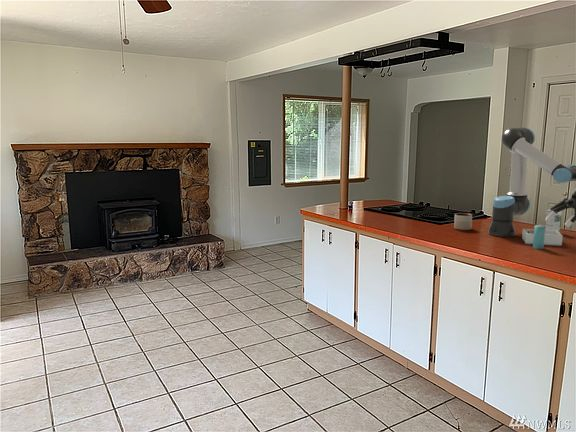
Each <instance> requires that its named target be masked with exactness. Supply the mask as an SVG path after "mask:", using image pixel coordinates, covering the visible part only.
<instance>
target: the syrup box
mask: <svg viewBox="0 0 576 432" xmlns="http://www.w3.org/2000/svg"><path fill="white" fill-rule="evenodd" d="M550 213H551V210H550V209H547V210H546V218H547V216H548V215H549V214H550ZM562 213H563V210H562V211H560V212H558V213H556V215H555V216H554V217H553V219H552V220H551V221H550V222H549V223H547V222H546V221H545V230H557V231H558V232H559V233H560V234H561V227H562V215H563V214H562ZM546 218H545V219H546Z"/></svg>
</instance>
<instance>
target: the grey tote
mask: <svg viewBox="0 0 576 432" xmlns="http://www.w3.org/2000/svg"><path fill="white" fill-rule="evenodd" d="M528 231H534V229H533V228H522V235H521V239H522V241H523V242H524V243H525V244H526V245H527V244H528V245H533V239H534V234H528ZM563 237H564V236H563V234H561V232H560V233H559V232H558V231H557V230H546V229H545V236H544V246H557V247H558V246H559V247H560V246H561V247H562V246H563Z"/></svg>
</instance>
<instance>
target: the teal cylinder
mask: <svg viewBox="0 0 576 432" xmlns="http://www.w3.org/2000/svg"><path fill="white" fill-rule="evenodd" d="M545 230H546V225H542V224H541V225H540V224H539V225H537V224H536V225H534V239H533V244H532V249H537V250H543V249H544V247H545V245H544V236H545Z"/></svg>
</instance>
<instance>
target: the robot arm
mask: <svg viewBox="0 0 576 432" xmlns="http://www.w3.org/2000/svg"><path fill="white" fill-rule="evenodd" d="M535 140H536V135H535V132H534V131H533V130H532V129H531V128H527V127H510V128H508V129H506V130H504V132H503V133H502V135H501V143H502V144H503V146H504V147H505V148H507V149H508V150H509V152H510V153H511V160H510V177H509V191H508V192H507V193H506V195H500V196H496V197H494V198H493V202H492V215H491V223H490V225H489V228H488V230H487V234H488V235H490V236H494V237H501V238H503V237H504V238H511V237H515V236H516V228H515V226H514V217H515V216H521V215H524V214H526V213H527V212H528V211H529V210H530V208H531V201H530V199H529V198H528V193H527V192H526V179H527V166H528V165H527V163H528V160H529V161H530V163H533V164H534V165H535V166H537V167H539V168H540V169H542V170H543V171H545V172H546V173H548V174H549V175H550V176H552V178H553V179H554V181H555V182H557V183H561V184H562V183H569V182H570V183H571V182H576V165H574V164H571V163H570V164H568V165H566V166H565V165H564V164H562V163H561V162H559V161H558V160H556V159H555V158H553V157H551V156H550V155H549V154H547V153H545V152H544V151H543V150H540V149H539V148H538V147H536V146H534V145H533V144H534V143H535ZM566 209H574V213H573V214H572V215H571V216H570V217H569V218H568V219H567V220H566V221H565V223H564V226H565V227H566V228H568V229H569V228H570V226H572V224H573V223H575V222H576V190H575V191H574V192H573V193H572V194H571V198H570V199H568V198H567V197H565V198H564V199H563V200H561V201H559V203H556V204H555V205H553V206H552V207H550V208H549V210H551V213H550V214H549V215H548V216H547V215H546V217H547V218H544V220H545V223H546V222H547V223H549V222H550V221H551V220H552V219H553V217H554V216H555V215H556V213H558V212H560V211H562V212H563V211H564V210H566Z"/></svg>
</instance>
